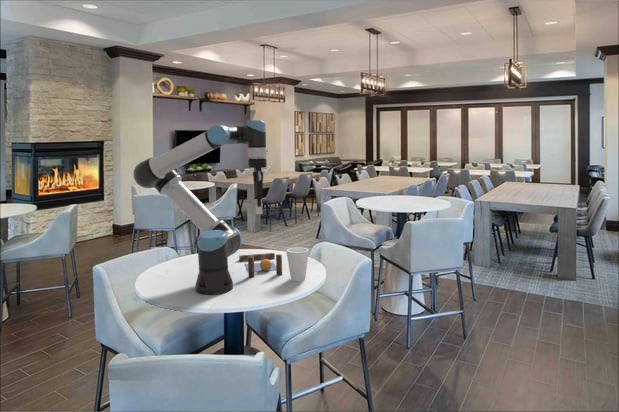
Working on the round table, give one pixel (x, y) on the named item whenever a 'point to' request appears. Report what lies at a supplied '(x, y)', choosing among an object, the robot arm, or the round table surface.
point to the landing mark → (258, 269)
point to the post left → (251, 266)
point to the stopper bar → (257, 256)
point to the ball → (265, 264)
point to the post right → (278, 264)
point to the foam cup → (297, 263)
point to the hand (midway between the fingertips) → (259, 213)
